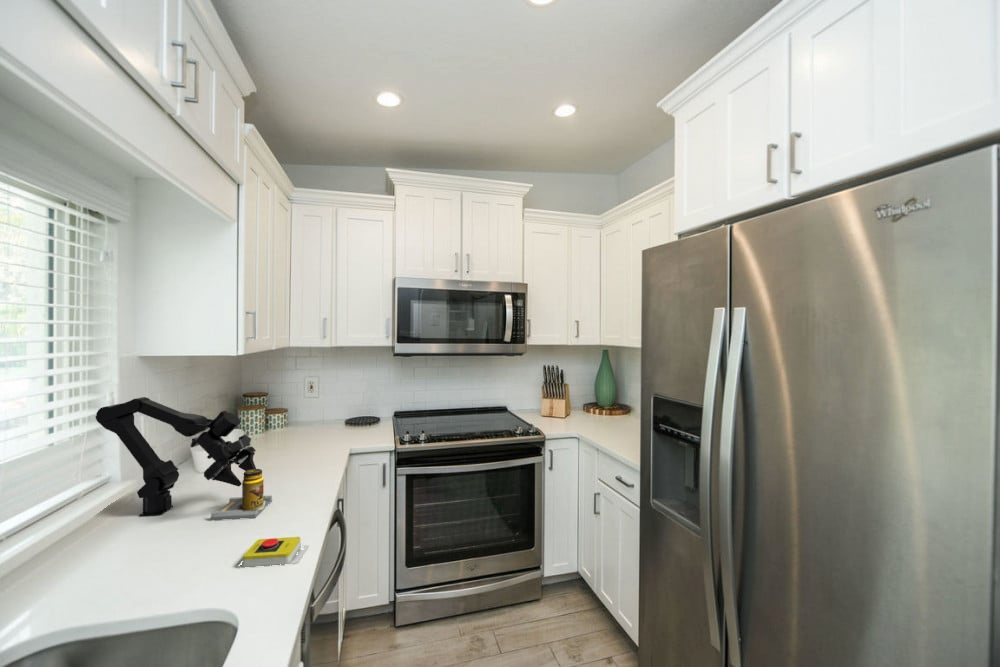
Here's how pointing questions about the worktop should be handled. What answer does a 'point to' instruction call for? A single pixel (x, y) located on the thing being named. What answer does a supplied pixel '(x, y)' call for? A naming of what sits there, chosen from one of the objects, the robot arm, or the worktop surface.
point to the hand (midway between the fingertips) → (249, 480)
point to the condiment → (252, 491)
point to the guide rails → (238, 512)
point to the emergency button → (274, 552)
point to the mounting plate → (232, 506)
